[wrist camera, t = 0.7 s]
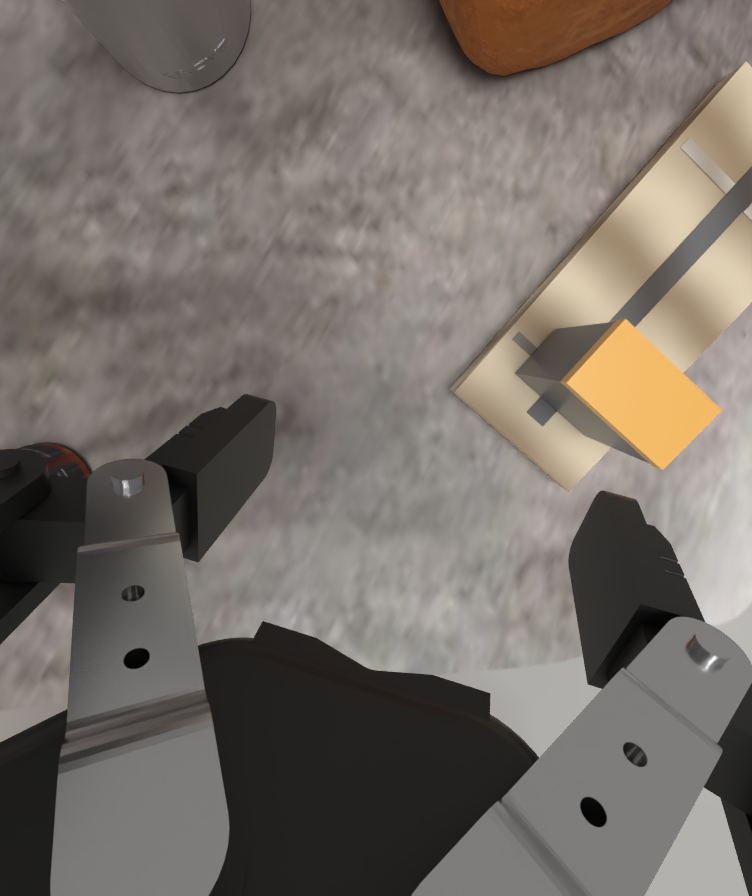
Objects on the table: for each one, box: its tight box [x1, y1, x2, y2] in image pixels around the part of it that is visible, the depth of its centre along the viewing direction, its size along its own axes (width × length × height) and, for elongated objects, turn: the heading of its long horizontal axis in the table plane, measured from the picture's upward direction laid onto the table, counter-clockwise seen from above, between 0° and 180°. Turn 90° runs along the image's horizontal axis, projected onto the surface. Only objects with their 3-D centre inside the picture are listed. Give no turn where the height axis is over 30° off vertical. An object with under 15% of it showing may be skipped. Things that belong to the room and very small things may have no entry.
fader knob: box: [515, 319, 722, 470], centre depth 26 cm, size 4×6×9 cm, turn 49°
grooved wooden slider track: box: [450, 62, 752, 492], centre depth 31 cm, size 24×10×3 cm, turn 140°
